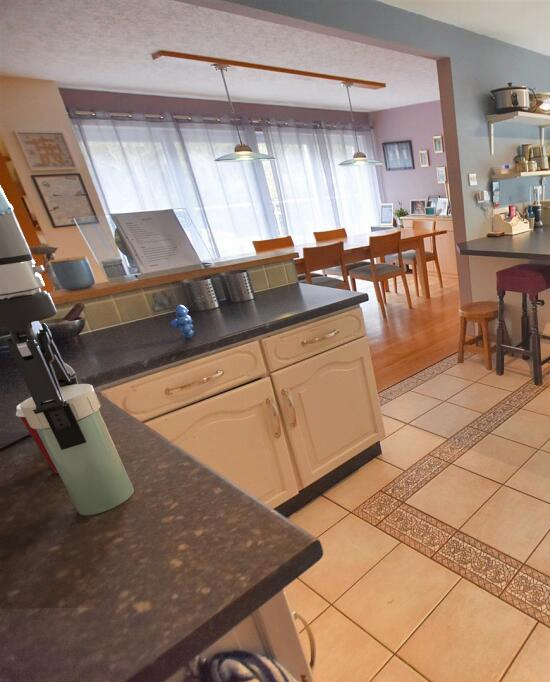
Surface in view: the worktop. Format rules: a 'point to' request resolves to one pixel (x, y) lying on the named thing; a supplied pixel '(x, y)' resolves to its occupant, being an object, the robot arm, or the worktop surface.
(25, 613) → the worktop surface
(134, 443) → the worktop surface
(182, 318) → the grapes
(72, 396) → the thermos lid
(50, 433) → the thermos
